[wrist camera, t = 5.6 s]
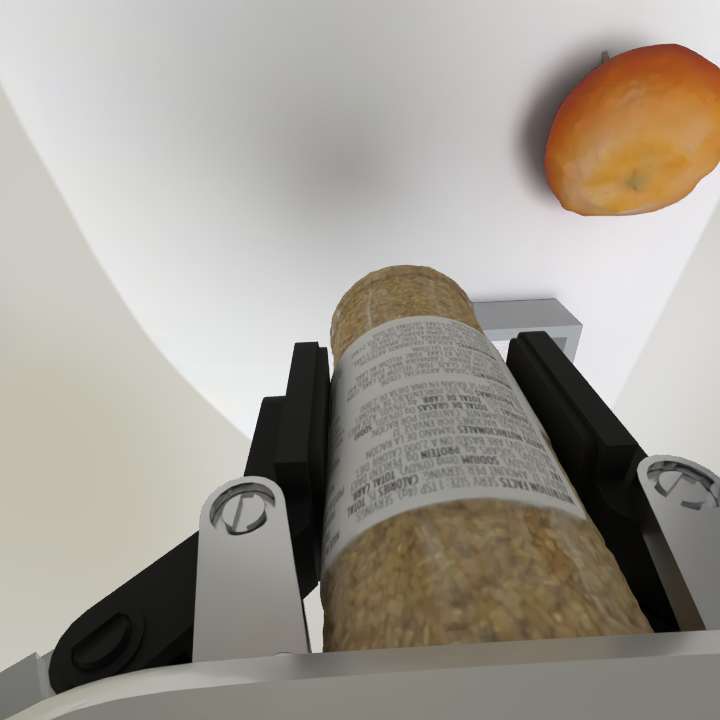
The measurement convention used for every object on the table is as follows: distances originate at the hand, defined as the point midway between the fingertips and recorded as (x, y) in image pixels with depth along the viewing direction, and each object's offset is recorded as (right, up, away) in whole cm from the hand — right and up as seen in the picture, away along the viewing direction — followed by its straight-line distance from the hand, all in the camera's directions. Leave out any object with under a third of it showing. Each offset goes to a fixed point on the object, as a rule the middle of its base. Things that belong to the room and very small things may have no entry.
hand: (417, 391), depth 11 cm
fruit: (+12, +14, +15) cm, 23 cm away
